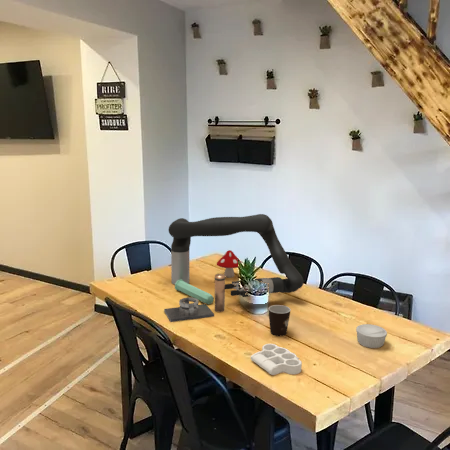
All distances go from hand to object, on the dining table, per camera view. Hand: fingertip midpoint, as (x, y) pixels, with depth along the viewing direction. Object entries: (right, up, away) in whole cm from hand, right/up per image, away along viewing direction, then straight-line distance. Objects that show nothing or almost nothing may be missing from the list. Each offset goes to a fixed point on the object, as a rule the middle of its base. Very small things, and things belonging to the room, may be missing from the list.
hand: (227, 290), depth 210 cm
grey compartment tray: (+17, -20, -45) cm, 52 cm away
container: (-16, -6, +16) cm, 23 cm away
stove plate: (-17, -10, -4) cm, 20 cm away
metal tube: (-4, -9, +1) cm, 10 cm away
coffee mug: (+21, -14, -21) cm, 33 cm away
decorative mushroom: (+1, +1, +46) cm, 46 cm away
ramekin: (+54, -16, -29) cm, 64 cm away
